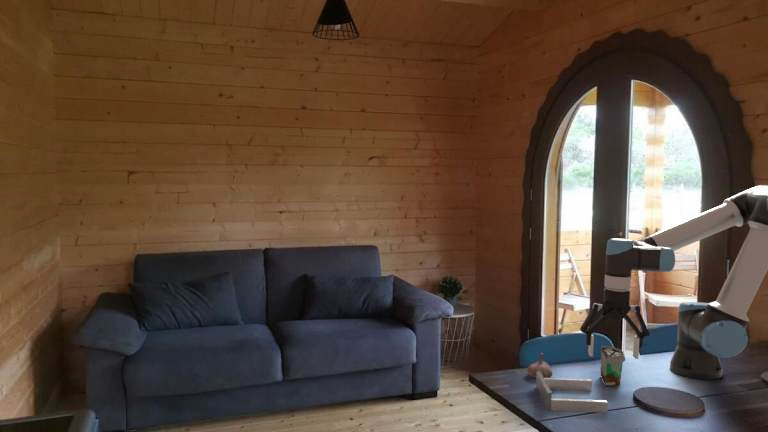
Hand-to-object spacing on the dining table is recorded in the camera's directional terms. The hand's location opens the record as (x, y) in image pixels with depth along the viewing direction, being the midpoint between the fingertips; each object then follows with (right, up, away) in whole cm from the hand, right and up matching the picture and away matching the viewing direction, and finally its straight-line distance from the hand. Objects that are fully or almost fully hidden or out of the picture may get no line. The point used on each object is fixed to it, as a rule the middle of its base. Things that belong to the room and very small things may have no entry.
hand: (612, 356), depth 184 cm
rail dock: (-17, -9, -13) cm, 23 cm away
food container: (0, -9, +1) cm, 9 cm away
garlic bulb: (-21, -8, +6) cm, 23 cm away
